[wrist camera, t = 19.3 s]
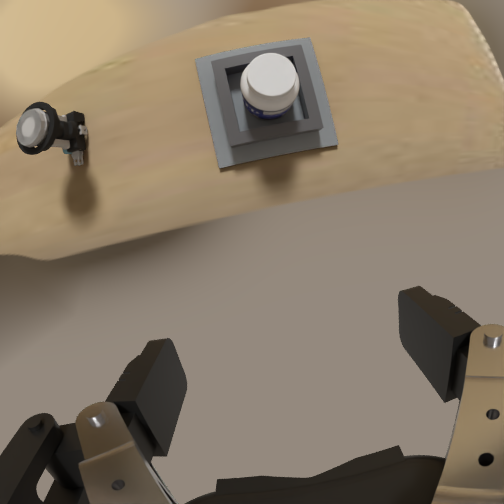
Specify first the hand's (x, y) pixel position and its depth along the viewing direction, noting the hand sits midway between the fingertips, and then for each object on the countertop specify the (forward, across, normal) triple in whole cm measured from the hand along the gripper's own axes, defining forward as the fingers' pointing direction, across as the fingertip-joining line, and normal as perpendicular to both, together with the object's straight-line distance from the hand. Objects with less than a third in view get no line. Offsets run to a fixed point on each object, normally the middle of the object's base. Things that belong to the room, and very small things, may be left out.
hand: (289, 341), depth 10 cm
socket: (+25, -3, -14) cm, 29 cm away
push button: (+25, +20, -15) cm, 36 cm away
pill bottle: (+25, -3, -13) cm, 28 cm away
